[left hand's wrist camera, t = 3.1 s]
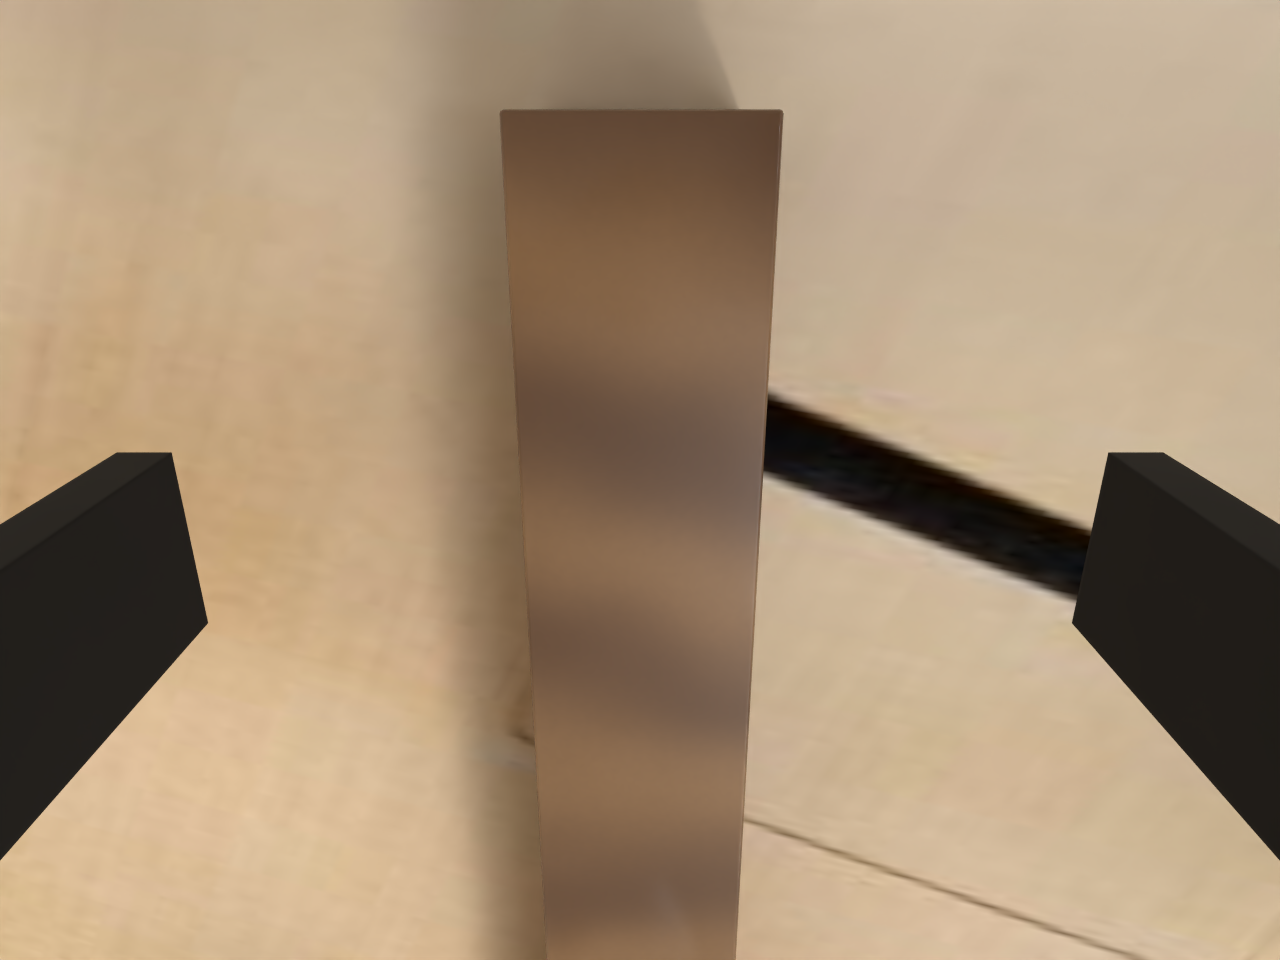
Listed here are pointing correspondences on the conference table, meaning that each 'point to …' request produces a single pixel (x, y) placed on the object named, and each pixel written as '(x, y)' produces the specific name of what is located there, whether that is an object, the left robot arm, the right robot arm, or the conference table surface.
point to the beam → (641, 506)
